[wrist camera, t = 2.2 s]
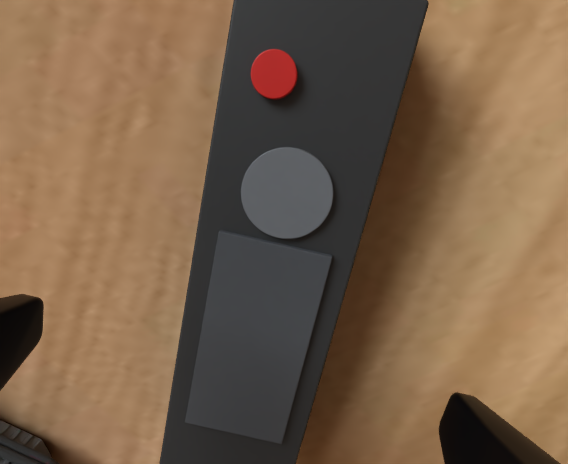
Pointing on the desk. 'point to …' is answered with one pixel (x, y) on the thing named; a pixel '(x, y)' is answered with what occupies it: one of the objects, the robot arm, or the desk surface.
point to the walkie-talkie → (22, 447)
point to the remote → (282, 218)
